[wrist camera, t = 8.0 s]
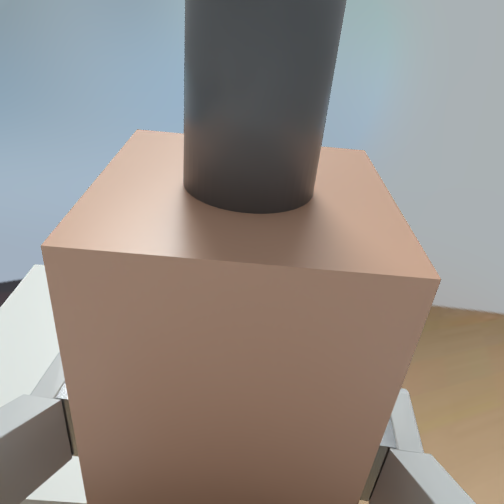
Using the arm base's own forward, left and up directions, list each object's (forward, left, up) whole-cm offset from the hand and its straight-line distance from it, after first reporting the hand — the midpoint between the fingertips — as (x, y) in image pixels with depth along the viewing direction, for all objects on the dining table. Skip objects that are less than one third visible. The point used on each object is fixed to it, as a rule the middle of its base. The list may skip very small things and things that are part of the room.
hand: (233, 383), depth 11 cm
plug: (0, +1, -7) cm, 7 cm away
